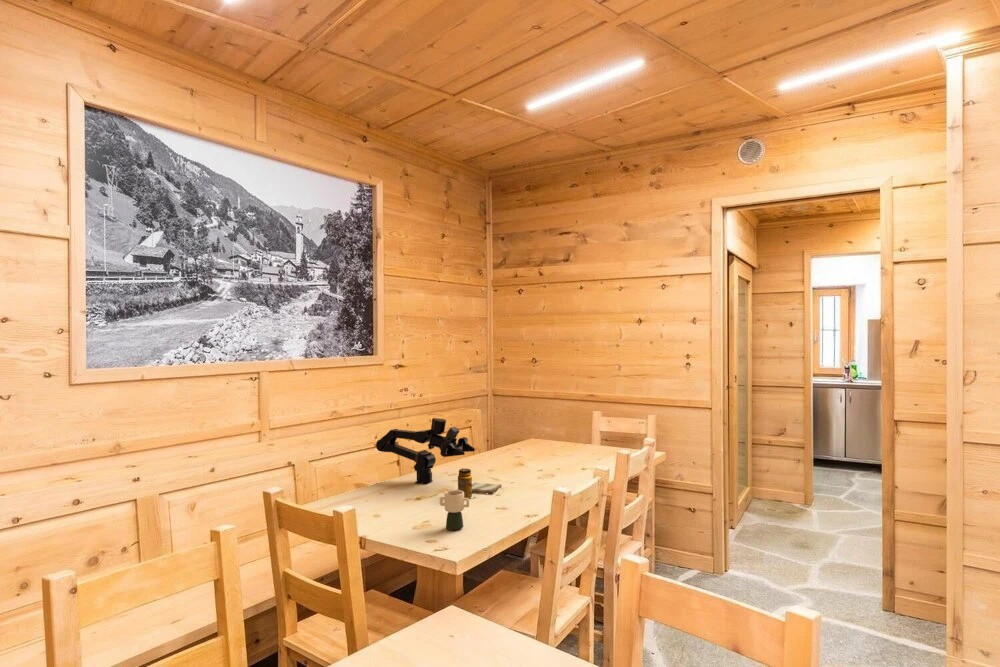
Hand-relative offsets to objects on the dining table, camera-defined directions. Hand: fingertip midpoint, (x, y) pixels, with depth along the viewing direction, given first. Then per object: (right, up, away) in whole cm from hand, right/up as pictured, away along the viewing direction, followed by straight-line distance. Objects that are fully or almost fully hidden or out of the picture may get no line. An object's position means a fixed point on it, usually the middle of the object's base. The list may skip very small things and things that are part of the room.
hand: (469, 451), depth 262 cm
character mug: (-2, -16, -57) cm, 59 cm away
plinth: (+6, -17, -3) cm, 18 cm away
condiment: (-2, -17, -16) cm, 23 cm away
